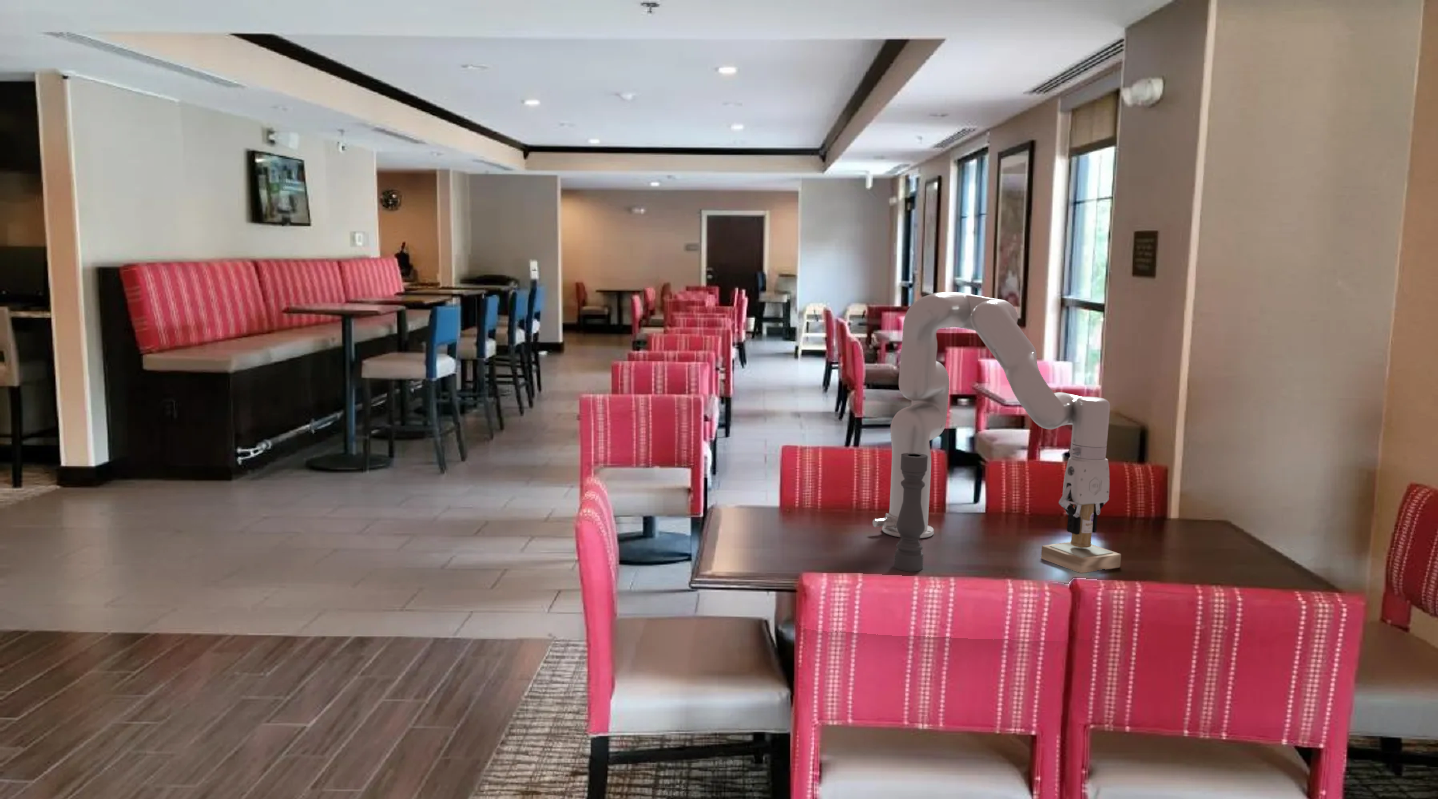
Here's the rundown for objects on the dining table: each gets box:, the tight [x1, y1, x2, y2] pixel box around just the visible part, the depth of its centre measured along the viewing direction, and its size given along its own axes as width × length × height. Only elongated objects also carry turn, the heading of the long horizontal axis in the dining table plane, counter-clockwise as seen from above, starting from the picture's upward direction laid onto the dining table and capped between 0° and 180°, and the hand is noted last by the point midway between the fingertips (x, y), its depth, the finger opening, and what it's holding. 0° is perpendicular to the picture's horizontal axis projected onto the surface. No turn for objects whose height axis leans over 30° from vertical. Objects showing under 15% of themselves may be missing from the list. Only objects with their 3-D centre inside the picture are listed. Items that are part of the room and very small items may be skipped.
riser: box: [1040, 541, 1122, 574], centre depth 235 cm, size 12×12×3 cm
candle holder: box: [893, 453, 928, 572], centre depth 226 cm, size 6×6×25 cm
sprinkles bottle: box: [1069, 504, 1094, 548], centre depth 233 cm, size 5×5×13 cm
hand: (1081, 531), depth 234 cm, fingers closed on sprinkles bottle, 4 cm apart
